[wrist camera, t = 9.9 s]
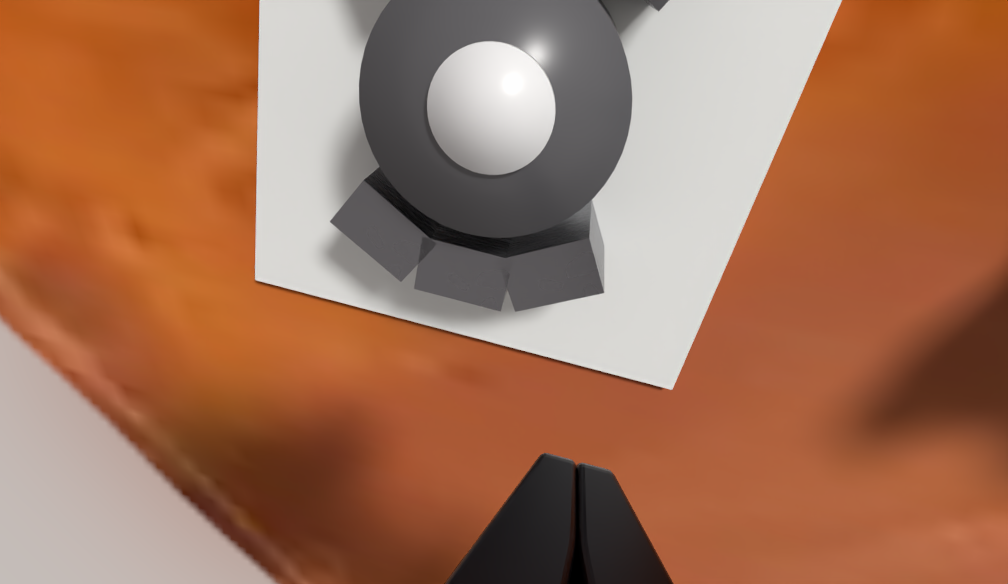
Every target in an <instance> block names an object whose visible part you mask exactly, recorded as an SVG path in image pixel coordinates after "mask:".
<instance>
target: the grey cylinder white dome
mask: <svg viewBox="0 0 1008 584" xmlns="http://www.w3.org/2000/svg"><path fill="white" fill-rule="evenodd" d="M359 104H360V112H361V119H362V123H363V127H364V131H365V134H366V138H367V140H368V143H369V146H370V148H371V151H372V153H373V155H374V157H375V159H376V161H377V163H378V164H379V166H380V168H381V170H382V171H383V173H384V174H385V176H386V177H387V179H388V180H389V181H390V183H391V184H392V185H393V186H394V187H395V189H396V190H397V191H398V192H399V193H400V194H401V195H402V196H403V197H404V198H405V199H406V200H407V201H408V202H409V203H410V204H411V205H413V206H414V207H415V208H416V209H418V210H419V211H420V212H422V213H423V214H425V215H426V216H428V217H429V218H431V219H433V220H435V221H436V222H438V223H440V224H442V225H444V226H447V227H449V228H452V229H454V230H457V231H460V232H464V233H467V234H471V235H476V236H483V237H492V238H508V237H518V236H524V235H528V234H533V233H537V232H540V231H543V230H545V229H548V228H551V227H553V226H555V225H557V224H559V223H561V222H563V221H565V220H566V219H568V218H570V217H571V216H572V215H574V214H575V213H577V212H578V211H580V210H581V209H582V208H583V207H584V206H585V205H586V204H588V203H589V202H590V201H591V200H592V199H593V198H594V197H595V196H596V195H597V193H598V192H599V191H600V190H601V189H602V187H603V186H604V185H605V184H606V182H607V181H608V179H609V178H610V176H611V174H612V173H613V171H614V170H615V168H616V166H617V163H618V161H619V159H620V157H621V155H622V153H623V150H624V146H625V143H626V140H627V137H628V133H629V127H630V122H631V115H632V86H631V77H630V72H629V67H628V62H627V58H626V55H625V51H624V48H623V45H622V42H621V38H620V36H619V33H618V30H617V27H616V25H615V23H614V21H613V19H612V17H611V15H610V13H609V11H608V10H607V8H606V7H605V5H604V4H603V2H602V1H601V0H390V1H389V3H388V4H387V6H386V7H385V8H384V10H383V11H382V12H381V14H380V16H379V17H378V19H377V21H376V23H375V25H374V27H373V29H372V30H371V33H370V36H369V38H368V41H367V44H366V46H365V50H364V54H363V58H362V63H361V68H360V78H359Z"/></svg>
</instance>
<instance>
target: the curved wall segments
mask: <svg viewBox="0 0 1008 584" xmlns="http://www.w3.org/2000/svg"><path fill="white" fill-rule="evenodd" d="M644 1H645V2H646V3H647V4H648V5H649V6H650V7H652V8H654V9H655V10H657V11H658V12H659V11H660V10H661V9H662V8H663V7H664V6H665V4H666V3H667V2H668V1H669V0H644ZM330 223H332V224H333V225H334V226H335V227H336V228H338V229H339V230H340V231H341V232H342V233H343V234H345V235H346V236H347V237H348V238H349V239H351V240H352V241H353V242H354V243H355V244H356V245H358V246H359V247H360V248H361V249H362V250H364V251H365V252H366V253H367V254H368V255H370V256H371V257H372V258H373V259H374V260H375V261H377V262H378V263H379V264H380V265H381V266H383V267H384V268H385V269H386V270H387V271H388V272H390V273H391V274H392V275H393V276H394V277H396V278H397V279H398V280H399V281H400V282H402V280H403V279H404V278H405V277H406V276H407V275H408V274H409V273H410V272H411V271H412V270H413V269H414V268H415V267H416V266H417V265H418V267H417V273H416V279H415V285H414V289H417V290H420V291H424V292H428V293H432V294H436V295H439V296H443V297H447V298H451V299H455V300H459V301H462V302H466V303H470V304H474V305H478V306H481V307H485V308H489V309H493V310H497V311H501V309H502V306H503V303H504V300H505V296H506V293H507V290H508V293H509V296H510V299H511V301H512V304H513V307H514V310H515V312H517V311H522V310H527V309H532V308H536V307H541V306H546V305H550V304H555V303H560V302H565V301H569V300H574V299H579V298H584V297H588V296H593V295H598V294H602V293H604V243H603V239H602V235H601V231H600V227H599V224H598V220H597V216H596V212H595V209H594V205H593V201H592V200H591V201H590V202H589V203H588V204H586V205H585V206H584V207H583V208H582V209H581V210H580V211H578V212H577V213H575V214H574V215H572V216H571V217H570V218H568V219H566V220H565V221H563V222H561V223H559V224H557V225H555V226H553V227H551V228H548V229H545V230H543V231H540V232H537V233H533V234H528V235H524V236H518V237H508V238H492V237H483V236H476V235H471V234H467V233H464V232H460V231H457V230H454V229H452V228H449V227H447V226H444V225H442V224H440V223H438V222H436V221H435V220H433V219H431V218H429V217H428V216H426V215H425V214H423V213H422V212H420V211H419V210H418V209H416V208H415V207H414V206H413V205H411V204H410V203H409V202H408V201H407V200H406V199H405V198H404V197H403V196H402V195H401V194H400V193H399V192H398V191H397V190H396V189H395V187H394V186H393V185H392V184H391V183H390V181H389V180H388V179H387V177H386V176H385V174H384V173H383V171H382V170H381V168H380V167H379V168H377V169H376V170H375V171H374V172H373V173H371V174H370V175H369V176H368V177H367V178H365V179H364V180H363V181H362V183H361V184H360V185H359V186H358V187H357V189H356V190H355V191H354V192H353V194H352V195H351V196H350V197H349V198H348V200H347V201H346V202H345V203H344V205H343V206H342V207H341V208H340V209H339V211H338V212H337V213H336V214H335V216H334V217H333V218H332V219H331V220H330Z"/></svg>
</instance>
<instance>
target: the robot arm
mask: <svg viewBox="0 0 1008 584" xmlns="http://www.w3.org/2000/svg"><path fill="white" fill-rule="evenodd" d="M444 584H673V582H672V580H671V578H670V577H669V575H668V573H667V571H666V569H665V567H664V565H663V564H662V562H661V560H660V558H659V556H658V554H657V553H656V551H655V549H654V547H653V545H652V543H651V542H650V540H649V538H648V536H647V534H646V532H645V531H644V529H643V527H642V525H641V523H640V521H639V520H638V518H637V516H636V514H635V512H634V510H633V509H632V507H631V505H630V503H629V501H628V499H627V497H626V496H625V494H624V492H623V490H622V488H621V486H620V485H619V483H618V481H617V479H616V477H615V476H614V474H613V473H612V472H611V471H610V470H608V469H604V468H601V467H597V466H593V465H589V464H586V463H579V464H578V465H577V466H576V465H575V463H574V461H573V460H571V459H567V458H563V457H560V456H556V455H552V454H549V453H544V454H542V455H540V456H539V457H538V459H537V460H536V461H535V463H534V464H533V465H532V467H531V468H530V469H529V471H528V472H527V473H526V475H525V476H524V477H523V479H522V480H521V482H520V483H519V484H518V486H517V487H516V488H515V490H514V491H513V492H512V494H511V495H510V496H509V498H508V499H507V500H506V502H505V503H504V504H503V506H502V507H501V508H500V510H499V511H498V512H497V514H496V515H495V516H494V518H493V519H492V520H491V522H490V523H489V524H488V526H487V527H486V528H485V530H484V531H483V532H482V534H481V535H480V536H479V538H478V539H477V540H476V542H475V543H474V545H473V546H472V547H471V549H470V550H469V551H468V553H467V554H466V555H465V557H464V558H463V559H462V561H461V562H460V563H459V565H458V566H457V567H456V569H455V570H454V571H453V573H452V574H451V575H450V577H449V578H448V579H447V581H446V582H445V583H444Z"/></svg>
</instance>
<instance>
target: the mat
mask: <svg viewBox="0 0 1008 584" xmlns="http://www.w3.org/2000/svg"><path fill="white" fill-rule="evenodd" d="M389 1H390V0H260V9H259V69H258V130H257V190H256V250H255V280H257V281H261V282H265V283H268V284H272V285H276V286H280V287H284V288H287V289H291V290H295V291H299V292H303V293H306V294H310V295H314V296H318V297H321V298H325V299H329V300H333V301H337V302H340V303H344V304H348V305H352V306H356V307H359V308H363V309H367V310H371V311H375V312H378V313H382V314H386V315H390V316H394V317H397V318H401V319H405V320H409V321H412V322H416V323H420V324H424V325H428V326H431V327H435V328H439V329H443V330H447V331H450V332H454V333H458V334H462V335H466V336H469V337H473V338H477V339H481V340H485V341H488V342H492V343H496V344H500V345H504V346H507V347H511V348H515V349H519V350H522V351H526V352H530V353H534V354H538V355H541V356H545V357H549V358H553V359H557V360H560V361H564V362H568V363H572V364H576V365H579V366H583V367H587V368H591V369H595V370H598V371H602V372H606V373H610V374H613V375H617V376H621V377H625V378H629V379H632V380H636V381H640V382H644V383H648V384H651V385H655V386H659V387H663V388H667V389H670V390H672V389H673V387H674V384H675V382H676V380H677V377H678V375H679V373H680V371H681V368H682V366H683V364H684V361H685V359H686V357H687V354H688V352H689V350H690V348H691V345H692V343H693V341H694V338H695V336H696V334H697V332H698V329H699V327H700V325H701V322H702V320H703V318H704V315H705V313H706V311H707V309H708V306H709V304H710V302H711V299H712V297H713V295H714V293H715V290H716V288H717V286H718V283H719V281H720V279H721V276H722V274H723V272H724V270H725V267H726V265H727V263H728V260H729V258H730V256H731V254H732V251H733V249H734V247H735V244H736V242H737V240H738V237H739V235H740V233H741V231H742V228H743V226H744V224H745V221H746V219H747V217H748V215H749V212H750V210H751V208H752V205H753V203H754V201H755V198H756V196H757V194H758V192H759V189H760V187H761V185H762V182H763V180H764V178H765V176H766V173H767V171H768V169H769V166H770V164H771V162H772V159H773V157H774V155H775V153H776V150H777V148H778V146H779V143H780V141H781V139H782V137H783V134H784V132H785V130H786V127H787V125H788V123H789V120H790V118H791V116H792V114H793V111H794V109H795V107H796V104H797V102H798V100H799V98H800V95H801V93H802V91H803V88H804V86H805V84H806V81H807V79H808V77H809V75H810V72H811V70H812V68H813V65H814V63H815V61H816V58H817V56H818V54H819V52H820V49H821V47H822V45H823V42H824V40H825V38H826V36H827V33H828V31H829V29H830V26H831V24H832V22H833V19H834V17H835V15H836V13H837V10H838V8H839V6H840V3H841V1H842V0H669V1H668V2H667V3H666V4H665V6H664V7H663V8H662V9H661V10H660V11H659V12H658V11H657V10H655V9H654V8H652V7H650V6H649V5H648V4H647V3H646V2H645V1H644V0H601V1H602V2H603V4H604V5H605V7H606V8H607V10H608V11H609V13H610V15H611V17H612V19H613V21H614V23H615V25H616V27H617V30H618V33H619V36H620V38H621V42H622V45H623V48H624V51H625V55H626V58H627V62H628V67H629V72H630V77H631V86H632V115H631V122H630V127H629V133H628V137H627V140H626V143H625V146H624V150H623V153H622V155H621V157H620V159H619V161H618V163H617V166H616V168H615V170H614V171H613V173H612V174H611V176H610V178H609V179H608V181H607V182H606V184H605V185H604V186H603V187H602V189H601V190H600V191H599V192H598V193H597V195H596V196H595V197H594V198H593V199H592V201H593V205H594V209H595V212H596V216H597V220H598V224H599V227H600V231H601V235H602V239H603V243H604V293H602V294H598V295H593V296H588V297H584V298H579V299H574V300H569V301H565V302H560V303H555V304H550V305H546V306H541V307H536V308H532V309H527V310H522V311H517V312H515V310H514V307H513V304H512V301H511V299H510V296H509V293H508V290H507V293H506V296H505V300H504V303H503V306H502V309H501V311H497V310H493V309H489V308H485V307H481V306H478V305H474V304H470V303H466V302H462V301H459V300H455V299H451V298H447V297H443V296H439V295H436V294H432V293H428V292H424V291H420V290H417V289H414V285H415V279H416V273H417V267H418V265H417V266H416V267H415V268H414V269H413V270H412V271H411V272H410V273H409V274H408V275H407V276H406V277H405V278H404V279H403V280H402V282H400V281H399V280H398V279H397V278H396V277H394V276H393V275H392V274H391V273H390V272H388V271H387V270H386V269H385V268H384V267H383V266H381V265H380V264H379V263H378V262H377V261H375V260H374V259H373V258H372V257H371V256H370V255H368V254H367V253H366V252H365V251H364V250H362V249H361V248H360V247H359V246H358V245H356V244H355V243H354V242H353V241H352V240H351V239H349V238H348V237H347V236H346V235H345V234H343V233H342V232H341V231H340V230H339V229H338V228H336V227H335V226H334V225H333V224H332V223H330V220H331V219H332V218H333V217H334V216H335V214H336V213H337V212H338V211H339V209H340V208H341V207H342V206H343V205H344V203H345V202H346V201H347V200H348V198H349V197H350V196H351V195H352V194H353V192H354V191H355V190H356V189H357V187H358V186H359V185H360V184H361V183H362V181H363V180H364V179H365V178H367V177H368V176H369V175H370V174H371V173H373V172H374V171H375V170H376V169H377V168H379V167H380V166H379V164H378V163H377V161H376V159H375V157H374V155H373V153H372V151H371V148H370V146H369V143H368V140H367V138H366V134H365V131H364V127H363V123H362V119H361V112H360V104H359V78H360V68H361V63H362V58H363V54H364V50H365V46H366V44H367V41H368V38H369V36H370V33H371V30H372V29H373V27H374V25H375V23H376V21H377V19H378V17H379V16H380V14H381V12H382V11H383V10H384V8H385V7H386V6H387V4H388V3H389Z"/></svg>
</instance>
